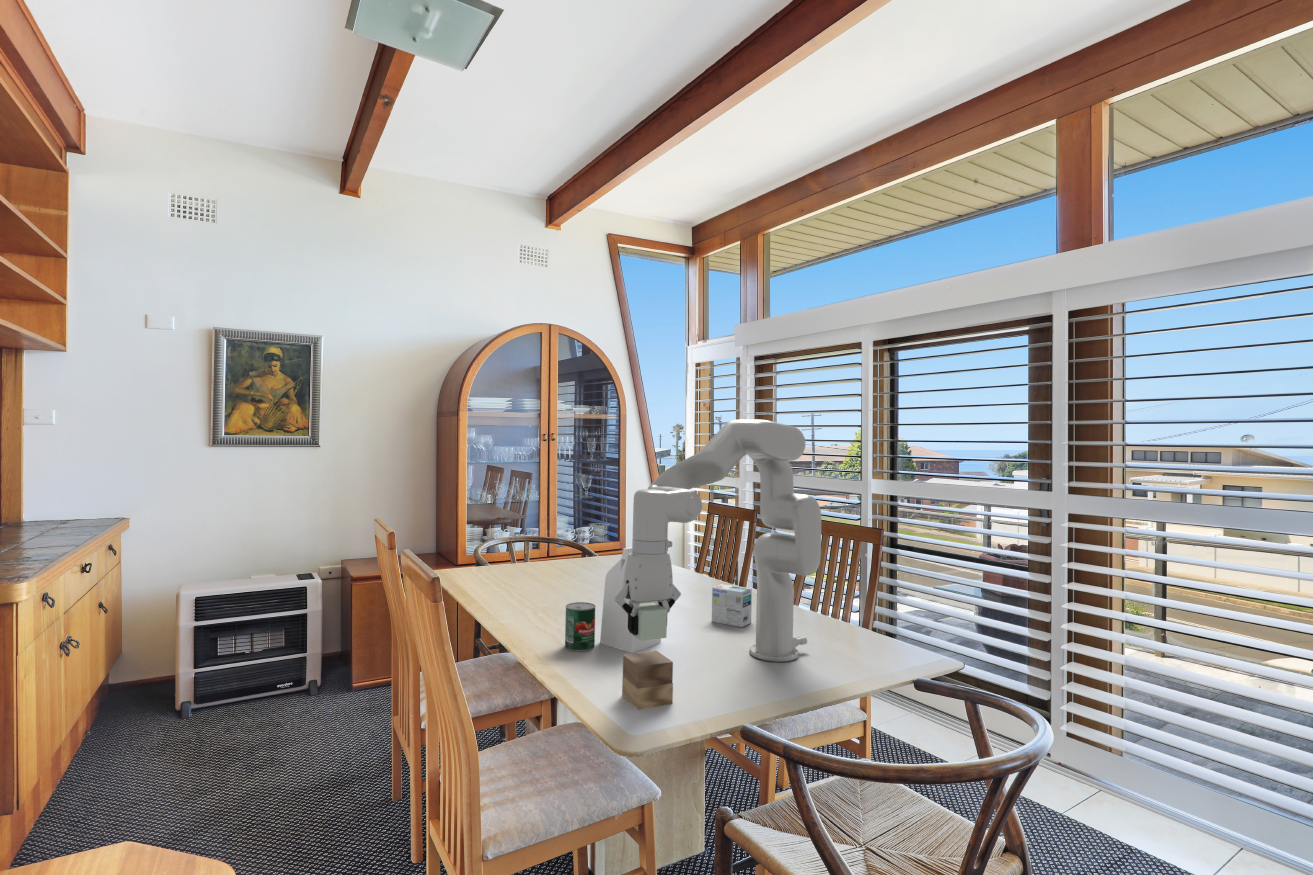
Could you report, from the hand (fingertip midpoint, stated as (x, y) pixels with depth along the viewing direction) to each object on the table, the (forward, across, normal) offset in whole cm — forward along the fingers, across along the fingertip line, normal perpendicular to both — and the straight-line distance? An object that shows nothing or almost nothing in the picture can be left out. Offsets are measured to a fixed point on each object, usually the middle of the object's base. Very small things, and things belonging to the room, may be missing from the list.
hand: (647, 630), depth 144 cm
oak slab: (+15, 0, 0) cm, 15 cm away
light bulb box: (+15, -51, -43) cm, 68 cm away
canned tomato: (+15, 0, -39) cm, 42 cm away
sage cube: (+1, 0, 0) cm, 1 cm away
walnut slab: (+10, 0, 0) cm, 10 cm away
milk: (+15, -14, -37) cm, 42 cm away
